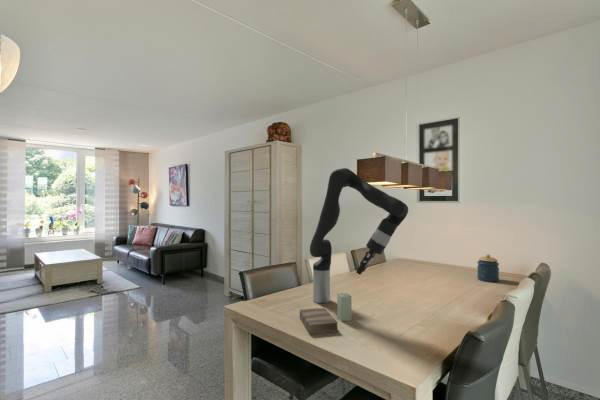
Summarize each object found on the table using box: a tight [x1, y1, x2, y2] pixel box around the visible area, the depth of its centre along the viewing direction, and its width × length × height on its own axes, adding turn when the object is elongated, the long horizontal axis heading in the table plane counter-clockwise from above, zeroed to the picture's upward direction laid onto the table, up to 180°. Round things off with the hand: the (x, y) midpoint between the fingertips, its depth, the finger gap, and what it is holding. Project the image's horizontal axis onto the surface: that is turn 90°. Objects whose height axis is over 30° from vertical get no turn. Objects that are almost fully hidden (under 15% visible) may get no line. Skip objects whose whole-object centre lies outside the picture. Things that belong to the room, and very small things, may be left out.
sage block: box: [336, 292, 352, 322], centre depth 142 cm, size 5×5×11 cm
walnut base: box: [299, 307, 338, 335], centre depth 136 cm, size 18×12×4 cm, turn 12°
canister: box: [476, 254, 500, 283], centre depth 213 cm, size 13×13×18 cm
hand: (359, 272), depth 137 cm, fingers open, 8 cm apart
